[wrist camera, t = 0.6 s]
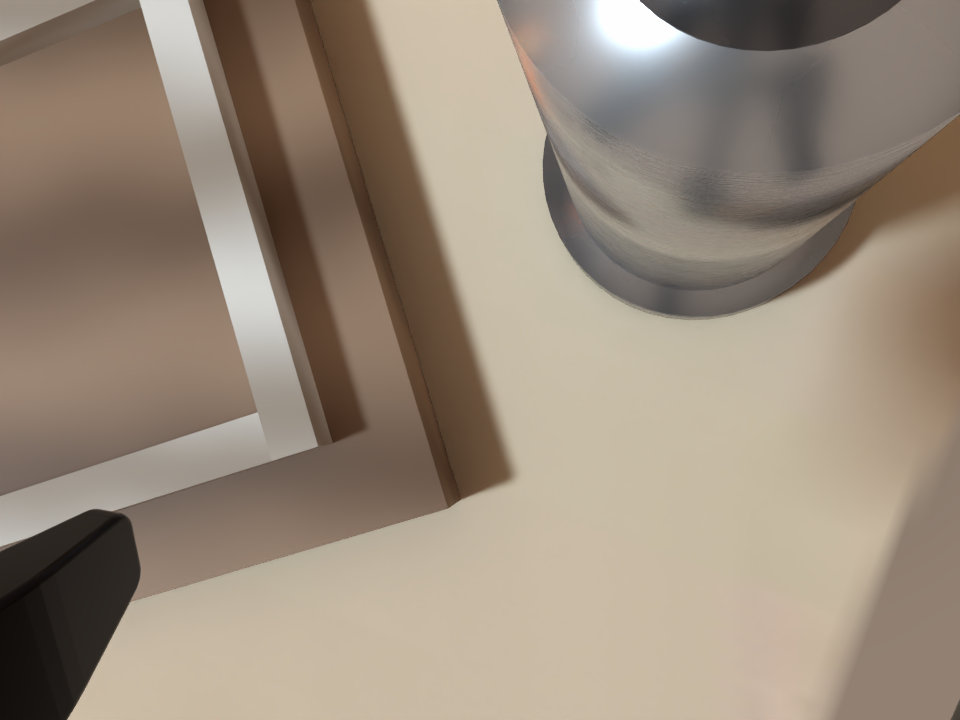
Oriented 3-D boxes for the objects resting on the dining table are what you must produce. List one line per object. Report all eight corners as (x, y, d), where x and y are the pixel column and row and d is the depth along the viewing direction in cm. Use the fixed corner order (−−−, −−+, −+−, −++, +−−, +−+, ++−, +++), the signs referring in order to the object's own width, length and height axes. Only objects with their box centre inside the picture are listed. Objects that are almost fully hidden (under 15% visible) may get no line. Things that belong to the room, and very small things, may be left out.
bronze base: (460, 499, 22) (438, 514, 20) (-122, 671, 25) (-204, 703, 23) (266, -144, 24) (222, -204, 21) (-266, 91, 27) (-359, 62, 24)
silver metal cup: (843, 325, 21) (1176, 238, 8) (541, 315, 22) (405, 226, 9) (855, 23, 21) (1202, -545, 8) (554, 31, 22) (437, -447, 9)
